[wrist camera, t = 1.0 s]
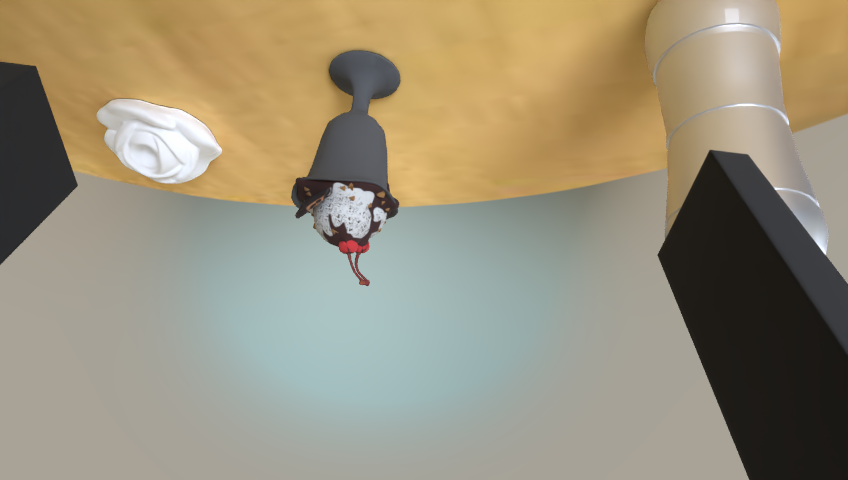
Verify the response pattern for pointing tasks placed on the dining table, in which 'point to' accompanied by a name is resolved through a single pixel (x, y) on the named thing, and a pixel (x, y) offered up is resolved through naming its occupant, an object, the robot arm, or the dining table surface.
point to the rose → (158, 140)
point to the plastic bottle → (726, 97)
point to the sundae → (352, 161)
